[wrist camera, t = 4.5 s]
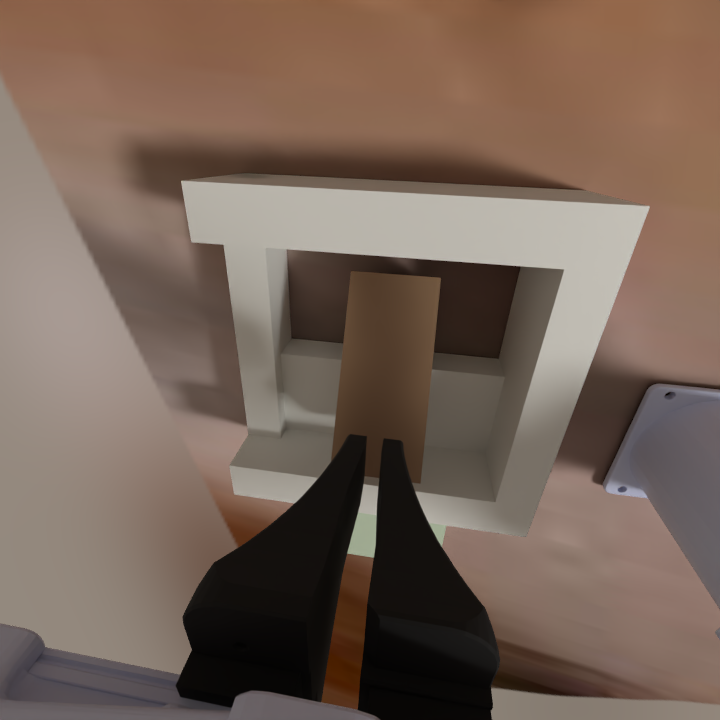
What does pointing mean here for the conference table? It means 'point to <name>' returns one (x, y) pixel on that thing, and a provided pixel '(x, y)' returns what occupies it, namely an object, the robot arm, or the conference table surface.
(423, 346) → the bar
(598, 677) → the conference table surface
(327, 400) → the frame
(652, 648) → the conference table surface
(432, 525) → the pad
